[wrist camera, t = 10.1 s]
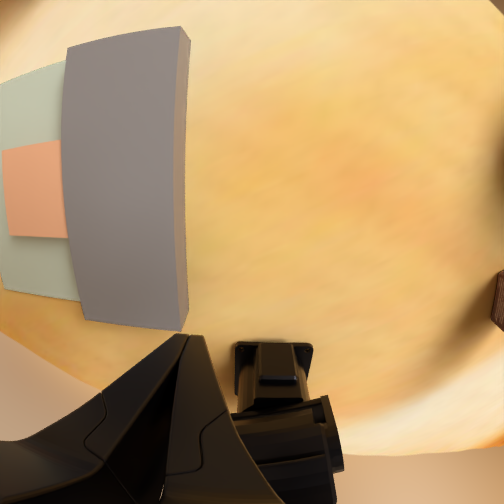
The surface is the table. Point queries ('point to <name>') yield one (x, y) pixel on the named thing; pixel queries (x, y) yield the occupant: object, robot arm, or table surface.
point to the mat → (3, 137)
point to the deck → (127, 176)
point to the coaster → (34, 190)
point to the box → (499, 303)
